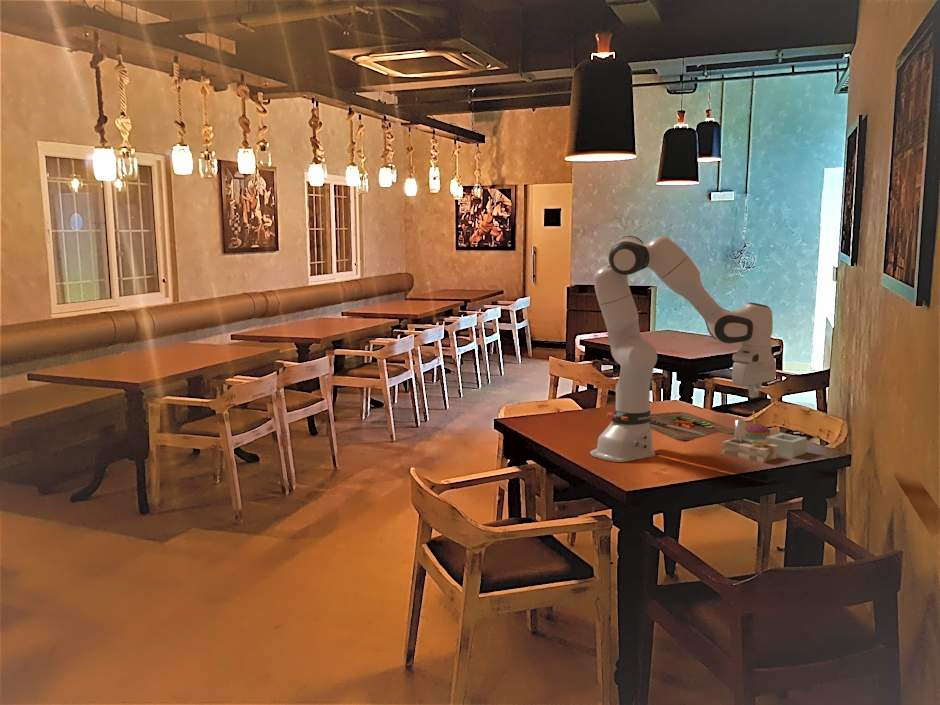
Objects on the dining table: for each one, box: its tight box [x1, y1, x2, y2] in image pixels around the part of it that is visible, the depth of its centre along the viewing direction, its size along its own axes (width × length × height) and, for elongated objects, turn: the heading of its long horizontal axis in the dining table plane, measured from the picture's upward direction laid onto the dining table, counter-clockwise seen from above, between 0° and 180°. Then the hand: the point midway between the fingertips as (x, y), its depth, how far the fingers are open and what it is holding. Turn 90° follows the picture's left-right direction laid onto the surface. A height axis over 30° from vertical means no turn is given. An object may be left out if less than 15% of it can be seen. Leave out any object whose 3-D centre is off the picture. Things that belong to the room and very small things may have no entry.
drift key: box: [752, 439, 770, 447], centre depth 237 cm, size 4×4×6 cm
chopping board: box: [649, 411, 735, 443], centre depth 284 cm, size 45×27×3 cm, turn 18°
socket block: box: [721, 437, 779, 464], centre depth 240 cm, size 9×14×5 cm, turn 39°
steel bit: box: [733, 418, 746, 444], centre depth 242 cm, size 3×3×11 cm
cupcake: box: [745, 408, 771, 440], centre depth 257 cm, size 9×8×12 cm
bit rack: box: [765, 432, 808, 459], centre depth 243 cm, size 9×9×6 cm
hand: (753, 396), depth 237 cm, fingers closed
